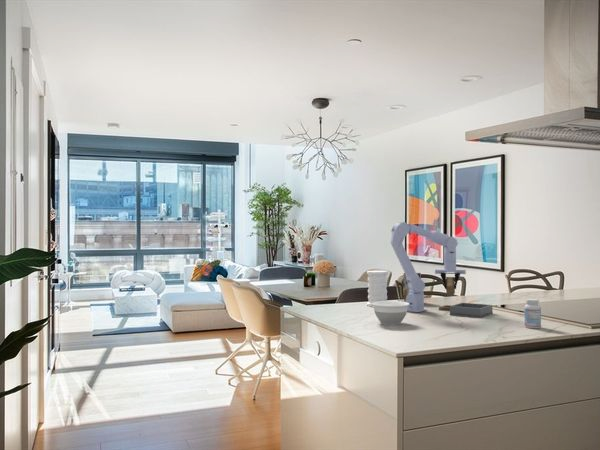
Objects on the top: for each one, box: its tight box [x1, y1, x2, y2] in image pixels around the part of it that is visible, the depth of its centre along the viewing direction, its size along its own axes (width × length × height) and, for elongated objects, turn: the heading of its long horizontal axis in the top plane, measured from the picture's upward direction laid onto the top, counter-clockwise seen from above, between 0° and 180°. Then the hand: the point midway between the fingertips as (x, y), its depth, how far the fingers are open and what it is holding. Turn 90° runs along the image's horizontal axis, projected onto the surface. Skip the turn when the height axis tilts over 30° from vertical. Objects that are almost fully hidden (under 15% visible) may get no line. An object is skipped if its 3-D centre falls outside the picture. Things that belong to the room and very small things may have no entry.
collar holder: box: [438, 304, 452, 312], centre depth 271 cm, size 8×8×2 cm
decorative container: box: [366, 270, 389, 307], centre depth 289 cm, size 12×12×18 cm
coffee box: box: [403, 272, 422, 302], centre depth 298 cm, size 9×6×16 cm
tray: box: [449, 302, 494, 319], centre depth 256 cm, size 15×15×4 cm
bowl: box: [372, 300, 409, 326], centre depth 234 cm, size 16×16×8 cm
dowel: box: [446, 276, 456, 295], centre depth 270 cm, size 4×4×8 cm
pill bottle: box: [523, 298, 542, 330], centre depth 220 cm, size 6×6×11 cm
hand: (450, 288), depth 270 cm, fingers closed on dowel, 4 cm apart
